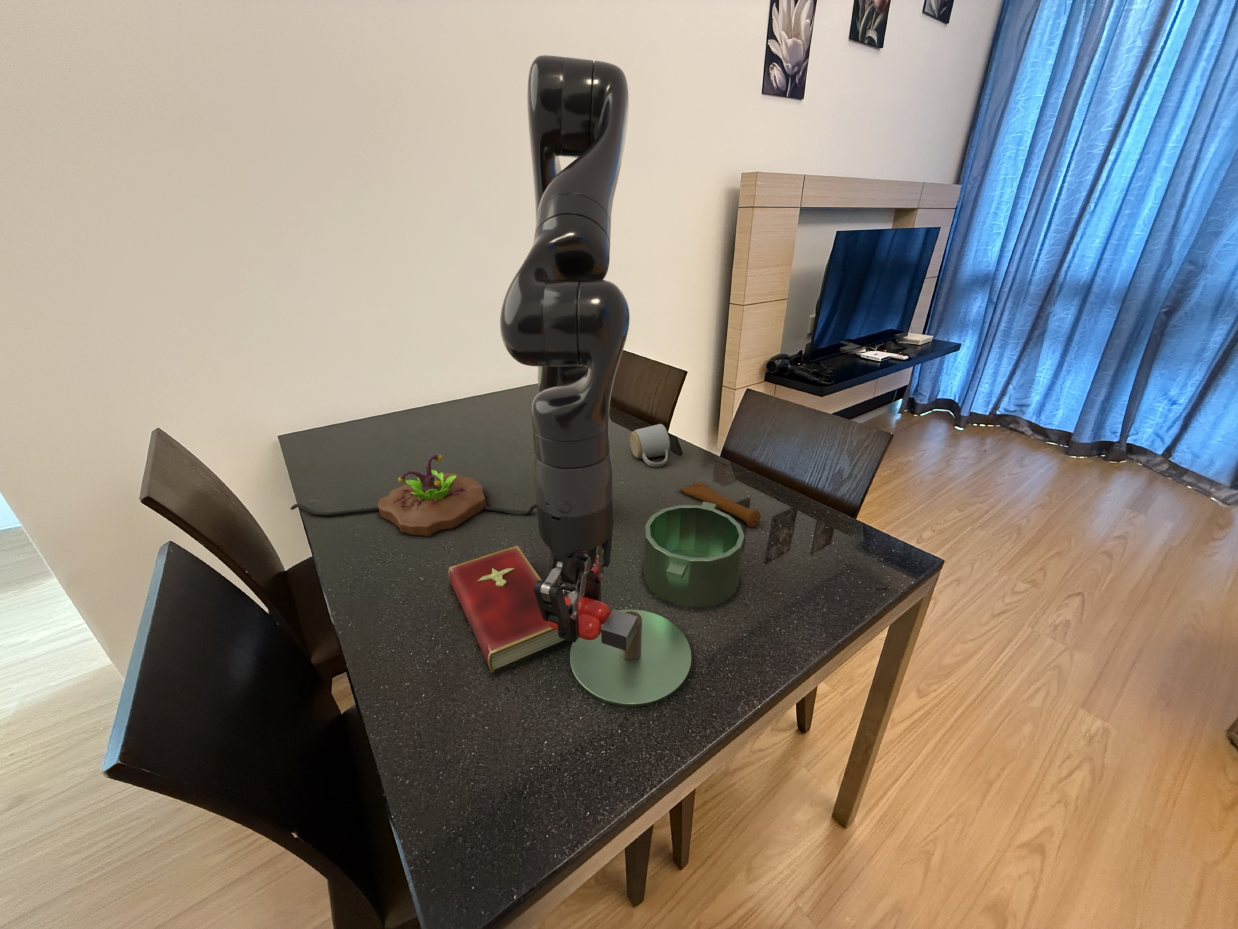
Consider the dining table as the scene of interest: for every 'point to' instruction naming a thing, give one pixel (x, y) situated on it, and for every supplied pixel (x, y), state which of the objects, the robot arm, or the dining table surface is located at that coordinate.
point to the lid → (634, 663)
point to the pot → (693, 555)
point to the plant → (432, 501)
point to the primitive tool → (723, 503)
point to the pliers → (604, 623)
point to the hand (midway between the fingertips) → (580, 620)
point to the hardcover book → (502, 606)
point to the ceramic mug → (650, 444)
